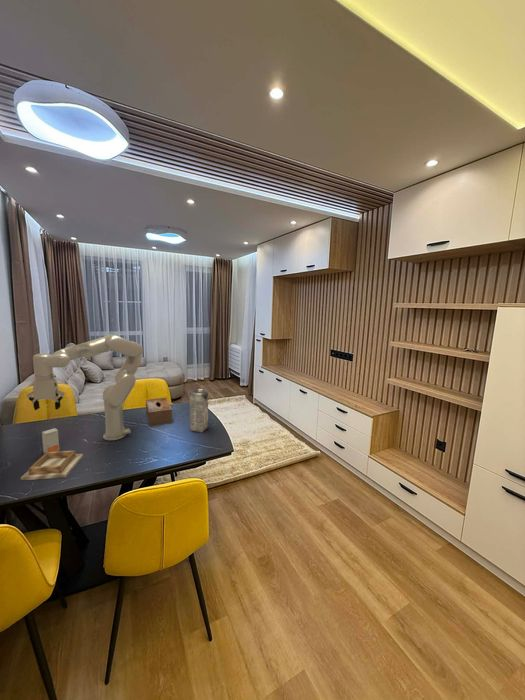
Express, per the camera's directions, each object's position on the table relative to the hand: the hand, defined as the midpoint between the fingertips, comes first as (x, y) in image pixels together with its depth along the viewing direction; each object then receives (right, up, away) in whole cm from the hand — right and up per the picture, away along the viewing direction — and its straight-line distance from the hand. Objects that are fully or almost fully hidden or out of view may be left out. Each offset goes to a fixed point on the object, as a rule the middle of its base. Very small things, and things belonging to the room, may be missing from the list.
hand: (47, 408), depth 145 cm
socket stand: (+11, -27, -10) cm, 31 cm away
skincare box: (-1, -24, +4) cm, 24 cm away
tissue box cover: (+39, -18, +53) cm, 68 cm away
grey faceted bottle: (+72, -22, +36) cm, 83 cm away
